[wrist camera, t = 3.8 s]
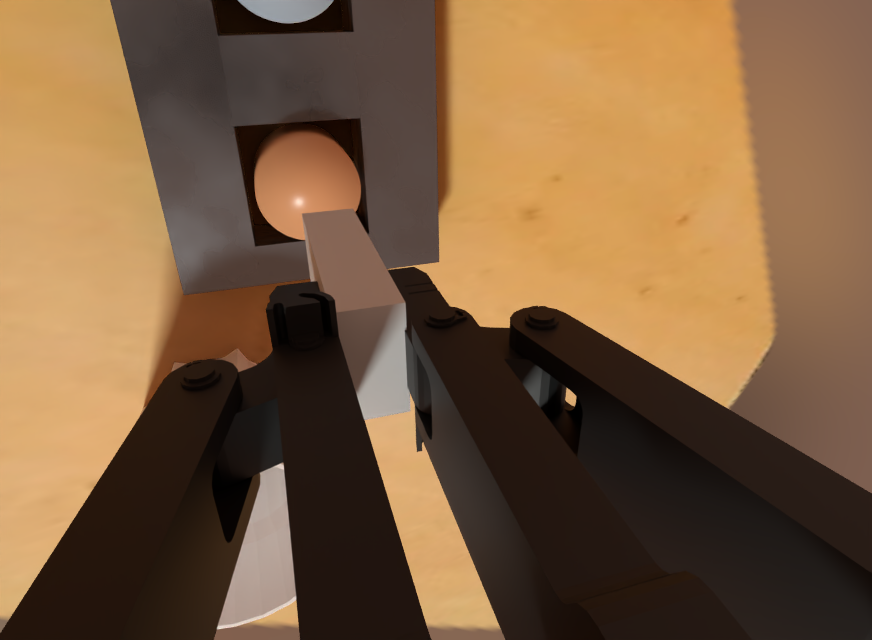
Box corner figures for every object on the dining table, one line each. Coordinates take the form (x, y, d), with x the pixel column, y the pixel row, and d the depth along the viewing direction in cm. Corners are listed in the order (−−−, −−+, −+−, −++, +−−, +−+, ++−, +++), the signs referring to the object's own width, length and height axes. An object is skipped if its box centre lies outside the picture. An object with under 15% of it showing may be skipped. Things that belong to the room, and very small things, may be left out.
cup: (98, 360, 29) (39, 499, 21) (295, 317, 31) (314, 428, 23) (163, 500, 34) (136, 657, 26) (330, 455, 36) (355, 588, 28)
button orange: (246, 126, 26) (246, 141, 23) (343, 119, 27) (356, 133, 24) (261, 220, 28) (264, 245, 25) (352, 211, 29) (364, 234, 26)
